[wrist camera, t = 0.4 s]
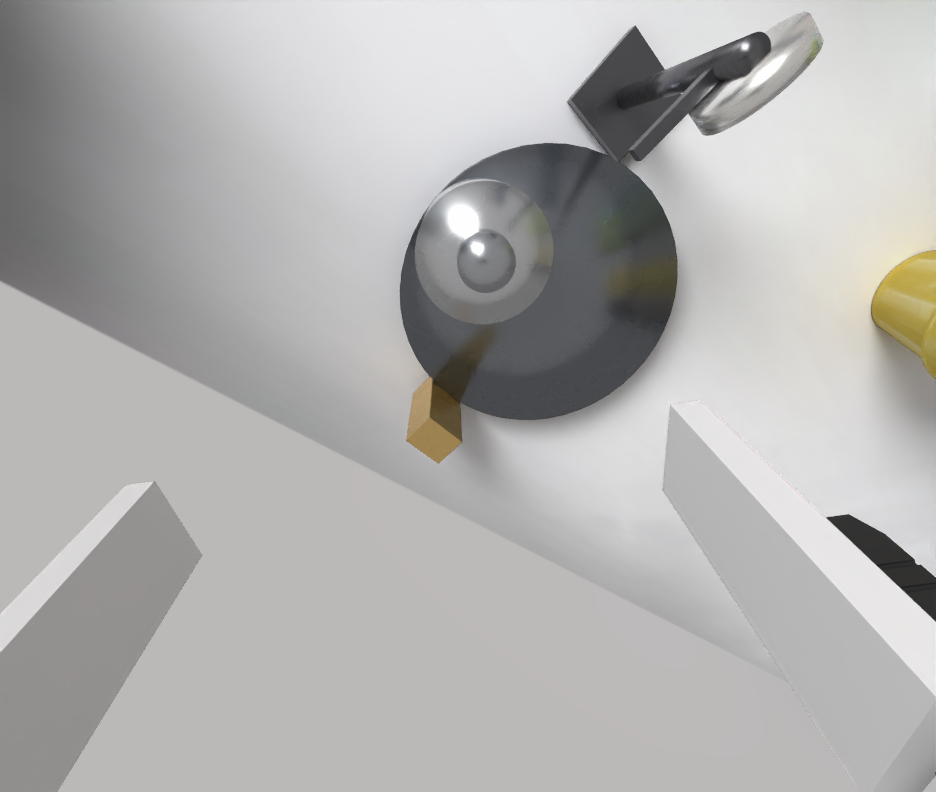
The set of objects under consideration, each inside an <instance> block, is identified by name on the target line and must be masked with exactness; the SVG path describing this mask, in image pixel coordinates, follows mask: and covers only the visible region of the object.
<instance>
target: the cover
mask: <svg viewBox="0 0 936 792" xmlns="http://www.w3.org/2000/svg"><path fill="white" fill-rule="evenodd" d="M553 256H554V246H553V238H552V233H551V230H550V226H549V224H548V222H547V219H546V217H545V216H544V214H543V212H542V210H541V209H540V208H539V207H538V205H537V204H536V203H535V202H534V201H533V200H532V199H531V198H530V197H529V196H528V195H526V194H525V193H524V192H522V191H521V190H519V189H517V188H515V187H513V186H511V185H508V184H506V183H504V182H501V181H498V180H495V179H490V178H479V177H478V178H469V179H465V180H462V181H459V182H457V183H455V184H453V185H451V186H449V187H448V188H446V189H445V190H444V191H443V192H441V193H440V194H439V195H438V196H437V197H436V198H435V200H434V201H433V202H432V204H431V205H430V207H429V208H428V210H427V212H426V214H425V216H424V219H423V221H422V223H421V226H420V229H419V231H418V235H417V239H416V245H415V264H416V270H417V274H418V277H419V280H420V282H421V285H422V287H423V289H424V290H425V292H426V294H427V295H428V297H429V298H430V299H431V301H432V302H433V303H434V304H435V305H436V306H437V307H438V308H439V309H441V310H442V311H443V312H445V313H446V314H448V315H449V316H451V317H453V318H455V319H458V320H460V321H463V322H467V323H472V324H494V323H498V322H502V321H505V320H508V319H510V318H512V317H514V316H516V315H518V314H519V313H521V312H522V311H524V310H525V309H526V308H527V307H529V306H530V305H531V304H532V303H533V302H534V301H535V300H536V298H537V297H538V296H539V294H540V293H541V292H542V290H543V288H544V286H545V285H546V283H547V280H548V278H549V275H550V272H551V268H552V264H553Z"/></svg>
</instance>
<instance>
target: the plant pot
mask: <svg viewBox="0 0 936 792" xmlns="http://www.w3.org/2000/svg"><path fill="white" fill-rule="evenodd" d="M871 310H872V316H873V319H874V321H875V323H876V324H877V325H878V326H879V327H880V328H882V329H883V330H884V331H886V332H887V333H888V334H890V335H891V336H893V337H894V338H895V339H897V340H898V341H899V342H900V343H902V344H903V345H904V346H906V347H907V348H909V349H910V350H911V351H912V352H914V353H915V354H916V355H918V356H919V357H920V358H922V360H923V363H924V366H925V368H926V370H927V371H928V372H929V374H930V375H931V376H932V377H934V378H935V379H936V250H933V251H927V252H923V253H920V254H918V255H915V256H913V257H911V258H909V259H907V260H905V261H904V262H902V263H901V264H899V265H898V266H897V267H895V268H894V269H893V270H892V271H891V272H890V273H889V274H888V275H887V276H886V277H885V279H884V280H883V281H882V283H881V284H880V286H879V287H878V289H877V291H876V293H875V295H874V298H873V301H872V308H871Z"/></svg>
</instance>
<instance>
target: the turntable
mask: <svg viewBox="0 0 936 792" xmlns="http://www.w3.org/2000/svg"><path fill="white" fill-rule="evenodd" d="M478 177H479V178H490V179H495V180H498V181H501V182H504V183H506V184H508V185H511V186H513V187H515V188H517V189H519V190H521V191H522V192H524V193H525V194H526V195H528V196H529V197H530V198H531V199H532V200H533V201H534V202H535V203H536V204H537V205H538V207H539V208H540V209H541V210H542V212H543V214H544V216H545V217H546V219H547V222H548V224H549V226H550V230H551V233H552V238H553V246H554V256H553V264H552V268H551V272H550V275H549V278H548V280H547V283H546V285H545V286H544V288H543V290H542V292H541V293H540V294H539V296H538V297H537V298H536V300H535V301H534V302H533V303H532V304H531V305H530V306H529V307H527V308H526V309H525V310H524V311H522V312H521V313H519V314H518V315H516V316H514V317H512V318H510V319H508V320H505V321H502V322H498V323H494V324H472V323H467V322H463V321H460V320H458V319H455V318H453V317H451V316H449V315H448V314H446V313H445V312H443V311H442V310H441V309H439V308H438V307H437V306H436V305H435V304H434V303H433V302H432V301H431V299H430V298H429V297H428V295H427V294H426V292H425V290H424V289H423V287H422V285H421V282H420V280H419V277H418V274H417V270H416V264H415V245H416V239H417V235H418V231H419V229H420V226H421V223H422V221H423V219H424V216H425V214H426V212H427V210H428V208H429V207H430V206H429V207H428V208H427V210H426V211H425V213H424V214H423V216H422V218H421V220H420V221H419V223H418V225H417V227H416V229H415V231H414V233H413V235H412V238H411V241H410V243H409V246H408V249H407V251H406V255H405V259H404V263H403V268H402V273H401V283H400V306H401V313H402V319H403V325H404V328H405V331H406V334H407V338H408V341H409V343H410V345H411V347H412V349H413V352H414V354H415V356H416V358H417V359H418V361H419V362H420V364H421V365H422V367H423V368H424V370H425V371H426V372H427V373H428V375H429V376H430V377H429V378H428V379H427V380H426V381H425V382H424V383H423V384H422V385H421V386H420V387H419V388H418V389H417V390H416V391H415V392H414V393H413V398H412V405H411V411H410V418H409V424H408V431H407V438H406V441H407V442H409V443H410V444H412V445H413V446H414V447H416V448H417V449H419V450H420V451H421V452H423V453H424V454H426V455H427V456H428V457H430V458H431V459H433V460H434V461H436V462H437V463H438V464H439V463H440V462H441V461H442V460H443V459H444V458H445V457H446V456H447V455H448V454H450V453H451V452H452V451H453V450H454V449H455V448H456V447H457V446H458V445H459V444H461V443H462V430H461V409H460V402H461V403H463V404H465V405H467V406H469V407H471V408H473V409H475V410H478V411H480V412H483V413H486V414H489V415H493V416H497V417H501V418H509V419H517V420H535V419H545V418H551V417H556V416H561V415H565V414H568V413H571V412H574V411H577V410H580V409H582V408H584V407H586V406H589V405H591V404H593V403H595V402H597V401H598V400H600V399H602V398H603V397H605V396H607V395H609V394H610V393H611V392H613V391H614V390H615V389H617V388H618V387H619V386H621V385H622V384H623V383H624V382H625V381H626V380H627V379H628V378H630V377H631V376H632V375H633V374H634V373H635V372H636V371H637V369H638V368H639V367H640V366H641V365H642V364H643V363H644V361H645V360H646V359H647V357H648V356H649V354H650V353H651V352H652V350H653V349H654V347H655V346H656V344H657V342H658V340H659V338H660V337H661V335H662V333H663V331H664V329H665V326H666V324H667V321H668V319H669V316H670V313H671V309H672V306H673V302H674V298H675V292H676V285H677V254H676V247H675V241H674V237H673V234H672V230H671V227H670V224H669V222H668V219H667V217H666V215H665V213H664V210H663V208H662V206H661V205H660V203H659V202H658V200H657V199H656V197H655V196H654V194H653V193H652V191H651V190H650V189H649V188H648V187H647V186H646V184H645V183H644V182H643V181H642V180H641V179H640V178H639V177H638V176H637V175H636V174H634V173H633V172H632V171H631V170H629V169H628V168H627V167H626V166H624V165H623V164H621V163H619V162H618V161H616V160H614V159H612V158H611V157H609V156H607V155H605V154H602V153H599V152H597V151H594V150H591V149H589V148H585V147H580V146H575V145H570V144H555V143H543V144H534V145H525V146H520V147H516V148H513V149H509V150H505V151H501V152H499V153H497V154H494V155H492V156H490V157H487V158H485V159H483V160H481V161H479V162H478V163H476V164H474V165H473V166H471V167H469V168H468V169H466V170H464V171H463V172H462V173H461V174H460V175H458V176H457V177H456V178H455V179H453V180H452V181H451V182H450V183H449V184H448V185H447V186H446V187H445V188H444V189H443V190H442V191H441V192H443V191H444V190H445V189H446V188H448V187H449V186H451V185H453V184H455V183H457V182H459V181H462V180H465V179H469V178H478ZM441 192H440V193H441ZM440 193H439V194H440ZM439 194H438V195H439ZM438 195H437V196H438ZM437 196H436V197H437ZM436 197H435V198H436ZM434 200H435V199H434ZM434 200H433V201H434ZM433 201H432V202H433ZM431 204H432V203H431ZM431 204H430V205H431Z"/></svg>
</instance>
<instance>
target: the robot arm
mask: <svg viewBox="0 0 936 792" xmlns="http://www.w3.org/2000/svg"><path fill="white" fill-rule="evenodd" d="M662 490H663V491H664V493H665V494H666V496H667V498H668V499H669V501H670V502H671V504H672V505H673V507H674V508H675V510H676V511H677V513H678V514H679V516H680V517H681V519H682V521H683V522H684V524H685V525H686V527H687V528H688V530H689V531H690V533H691V534H692V536H693V537H694V539H695V540H696V542H697V544H698V545H699V547H700V548H701V550H702V551H703V553H704V554H705V556H706V557H707V559H708V560H709V562H710V563H711V565H712V567H713V568H714V570H715V571H716V573H717V574H718V576H719V577H720V579H721V580H722V582H723V583H724V585H725V586H726V588H727V590H728V591H729V593H730V594H731V596H732V597H733V599H734V600H735V602H736V603H737V605H738V606H739V608H740V609H741V611H742V613H743V614H744V616H745V617H746V619H747V620H748V622H749V623H750V625H751V626H752V628H753V629H754V631H755V632H756V634H757V636H758V637H759V639H760V640H761V642H762V643H763V645H764V646H765V648H766V649H767V651H768V652H769V654H770V655H771V657H772V659H773V660H774V662H775V663H776V665H777V666H778V668H779V669H780V671H781V672H782V674H783V675H784V677H785V678H786V680H787V682H788V683H789V685H790V686H791V688H792V689H793V691H794V692H795V693H796V695H797V697H798V698H799V700H800V701H801V703H802V704H803V706H804V708H805V709H806V710H807V712H808V714H809V715H810V717H811V718H812V720H813V721H814V723H815V724H816V726H817V727H818V729H819V731H820V732H821V734H822V735H823V737H824V738H825V740H826V741H827V743H828V744H829V746H830V747H831V749H832V750H833V752H834V754H835V755H836V757H837V758H838V760H839V761H840V763H841V764H842V766H843V767H844V769H845V770H846V772H847V773H848V775H849V776H850V778H851V779H852V781H853V783H854V784H855V786H856V787H857V789H858V790H859V792H922V791H923V790H924V789H925V788H926V786H927V785H928V784H929V783H930V782H931V781H932V779H933V778H934V777H935V776H936V578H935V577H934V576H933V575H932V574H931V573H930V572H928V571H927V570H926V569H925V568H924V567H923V566H921V565H917V564H916V563H915V560H914V559H913V558H912V557H911V556H910V555H909V554H907V553H906V552H905V551H904V550H903V549H902V548H900V547H899V546H898V545H897V544H896V543H895V542H893V541H892V540H891V539H890V538H889V537H888V536H886V535H885V534H884V533H882V532H880V531H878V530H876V529H875V528H873V527H871V526H869V525H867V524H865V523H864V522H862V521H860V520H858V519H856V518H854V517H853V516H851V515H849V514H848V515H840V516H833V517H825V516H824V515H823V514H821V513H820V512H819V511H818V510H817V509H816V508H815V507H814V506H813V505H812V504H811V503H810V502H809V501H808V500H807V499H806V498H805V497H804V496H802V495H801V494H800V493H799V492H798V491H797V490H796V489H795V488H794V487H793V486H792V485H791V484H790V483H789V482H788V481H787V480H786V479H785V478H783V477H782V476H781V475H780V474H779V473H778V472H777V471H776V470H775V469H774V468H773V467H772V466H771V465H770V464H769V463H768V462H767V461H766V460H764V459H763V458H762V457H761V456H760V455H759V454H758V453H757V452H756V451H755V450H754V449H753V448H752V447H751V446H750V445H749V444H748V443H747V442H745V441H744V440H743V439H742V438H741V437H740V436H739V435H738V434H737V433H736V432H735V431H734V430H733V429H732V428H731V427H730V426H729V425H728V424H726V423H725V422H724V421H723V420H722V419H721V418H720V417H719V416H718V415H717V414H716V413H715V412H714V411H713V410H712V409H711V408H710V407H709V406H707V405H706V404H705V403H704V402H703V401H702V400H697V401H690V402H683V403H677V404H670V412H669V423H668V434H667V445H666V456H665V467H664V477H663V488H662ZM201 556H202V554H201V552H200V551H199V550H198V548H197V546H196V545H195V543H194V541H193V540H192V539H191V537H190V535H189V534H188V532H187V531H186V529H185V527H184V526H183V524H182V523H181V521H180V520H179V518H178V517H177V515H176V514H175V512H174V510H173V509H172V507H171V506H170V504H169V502H168V501H167V499H166V498H165V496H164V495H163V493H162V492H161V490H160V489H159V487H158V485H157V484H156V482H155V481H151V482H144V483H138V484H131V485H126V486H125V487H124V488H123V489H122V490H121V491H120V492H119V493H118V494H117V495H116V496H115V497H114V498H113V499H112V500H111V501H110V502H109V503H108V504H107V505H106V506H105V507H104V508H103V509H102V510H101V511H100V512H99V513H98V514H97V515H96V517H94V518H93V519H92V521H90V522H89V523H88V525H87V526H86V527H85V528H84V529H83V530H82V531H81V532H80V533H79V534H78V535H77V536H76V537H75V538H74V539H73V540H72V541H71V542H70V543H69V544H68V545H67V546H66V547H65V548H64V549H63V550H62V551H61V552H60V553H59V554H58V555H57V556H56V557H55V558H54V559H53V560H52V561H51V562H50V564H48V565H47V567H46V568H45V569H44V570H43V571H42V572H41V573H40V574H39V575H38V576H37V577H36V578H35V579H34V580H33V581H32V582H31V583H30V584H29V585H28V586H27V587H26V588H25V589H24V590H23V591H22V592H21V593H20V594H19V595H18V596H17V597H16V598H15V599H14V600H13V601H12V602H11V603H10V605H8V606H7V608H6V609H5V610H4V611H3V612H2V613H1V614H0V792H58V790H59V788H60V787H61V785H62V784H63V782H64V780H65V779H66V777H67V775H68V774H69V772H70V770H71V769H72V767H73V766H74V764H75V762H76V761H77V759H78V757H79V756H80V754H81V752H82V751H83V749H84V748H85V746H86V744H87V743H88V741H89V739H90V738H91V736H92V735H93V733H94V731H95V730H96V728H97V726H98V725H99V723H100V721H101V720H102V718H103V716H104V715H105V713H106V712H107V710H108V708H109V707H110V705H111V703H112V702H113V700H114V699H115V697H116V695H117V694H118V692H119V690H120V689H121V687H122V686H123V684H124V682H125V680H126V679H127V677H128V676H129V674H130V672H131V671H132V669H133V667H134V666H135V664H136V663H137V661H138V659H139V658H140V656H141V654H142V653H143V651H144V650H145V648H146V646H147V644H148V643H149V641H150V640H151V638H152V636H153V635H154V633H155V632H156V630H157V628H158V627H159V625H160V623H161V622H162V620H163V619H164V617H165V615H166V614H167V612H168V610H169V609H170V607H171V605H172V604H173V602H174V600H175V599H176V597H177V596H178V594H179V592H180V591H181V589H182V587H183V586H184V584H185V583H186V581H187V579H188V578H189V576H190V574H191V573H192V571H193V569H194V568H195V566H196V564H197V563H198V561H199V560H200V558H201Z"/></svg>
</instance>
